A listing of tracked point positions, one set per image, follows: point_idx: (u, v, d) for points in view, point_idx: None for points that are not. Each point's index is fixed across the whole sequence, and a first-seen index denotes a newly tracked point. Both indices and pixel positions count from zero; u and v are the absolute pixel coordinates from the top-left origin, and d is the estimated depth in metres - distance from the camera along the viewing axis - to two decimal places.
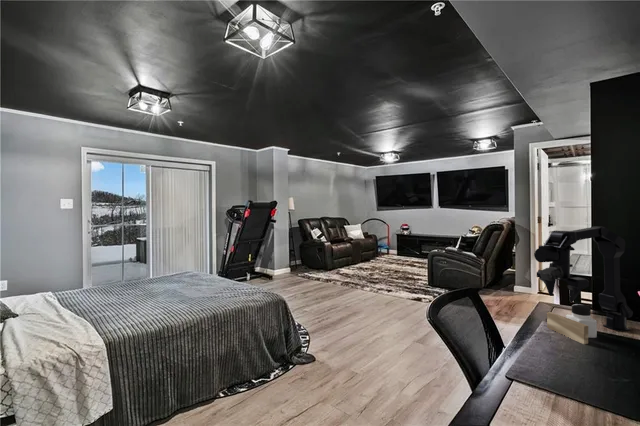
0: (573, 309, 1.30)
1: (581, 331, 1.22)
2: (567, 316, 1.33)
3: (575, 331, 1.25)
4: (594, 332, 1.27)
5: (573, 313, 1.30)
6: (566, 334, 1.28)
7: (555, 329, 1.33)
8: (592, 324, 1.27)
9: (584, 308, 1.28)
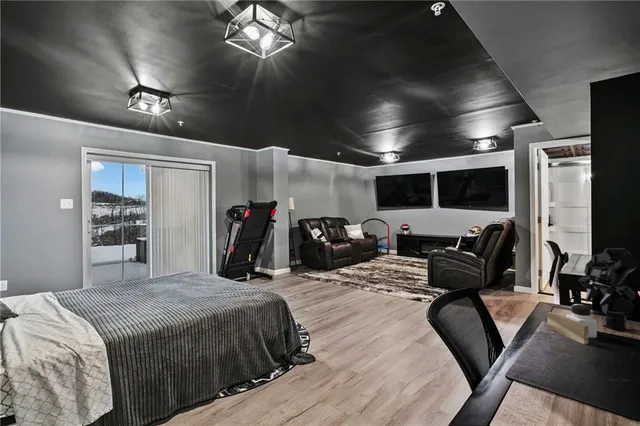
0: (573, 309, 1.30)
1: (581, 331, 1.22)
2: (567, 316, 1.33)
3: (575, 331, 1.25)
4: (594, 332, 1.27)
5: (573, 313, 1.30)
6: (566, 334, 1.28)
7: (555, 329, 1.33)
8: (592, 324, 1.27)
9: (584, 308, 1.28)
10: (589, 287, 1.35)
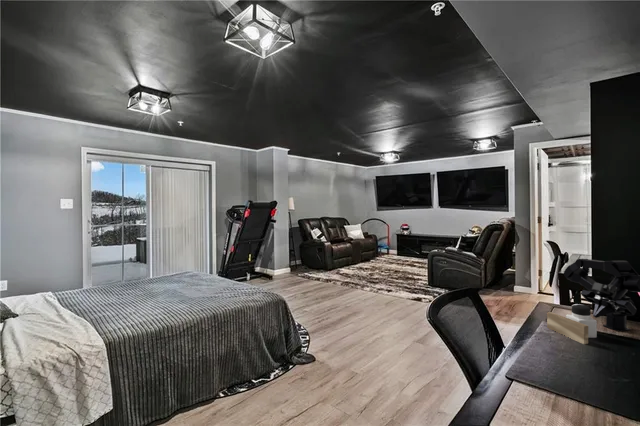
0: (573, 309, 1.30)
1: (581, 331, 1.22)
2: (567, 316, 1.33)
3: (575, 331, 1.25)
4: (594, 332, 1.27)
5: (573, 313, 1.30)
6: (566, 334, 1.28)
7: (555, 329, 1.33)
8: (592, 324, 1.27)
9: (584, 308, 1.28)
10: (597, 302, 1.33)
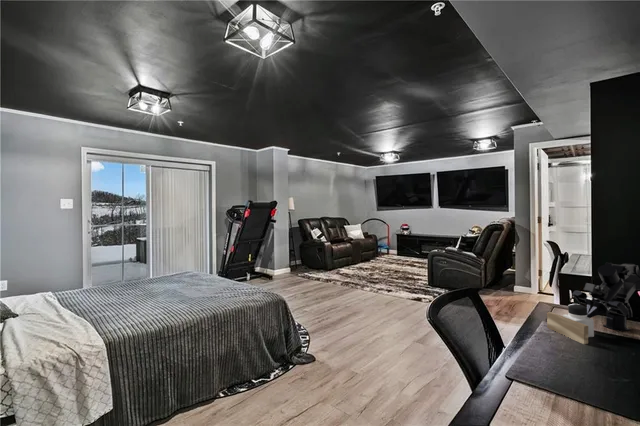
0: (570, 309, 1.30)
1: (581, 331, 1.22)
2: (564, 316, 1.33)
3: (575, 331, 1.25)
4: (591, 331, 1.27)
5: (570, 313, 1.30)
6: (566, 334, 1.28)
7: (555, 329, 1.33)
8: (589, 324, 1.27)
9: (580, 308, 1.28)
10: (589, 303, 1.32)
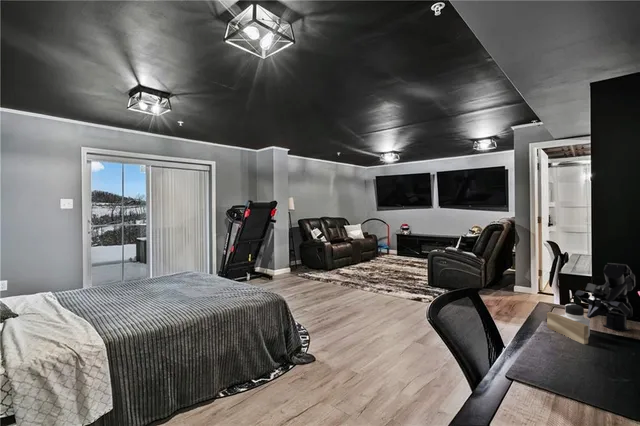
0: (567, 309, 1.30)
1: (581, 331, 1.22)
2: None
3: (575, 331, 1.25)
4: None
5: (567, 314, 1.30)
6: (566, 334, 1.28)
7: (555, 329, 1.33)
8: (586, 324, 1.27)
9: (578, 308, 1.28)
10: (591, 303, 1.33)
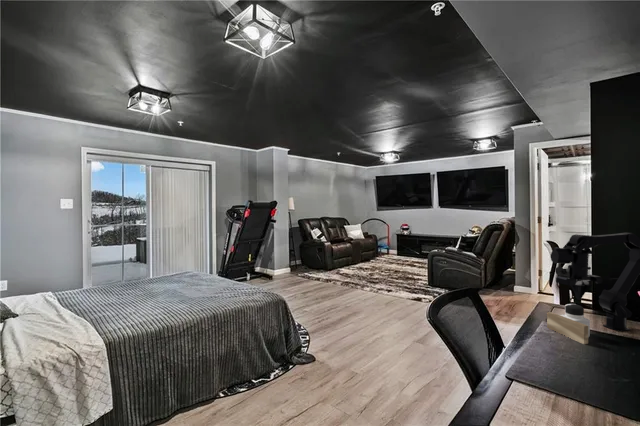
0: (567, 309, 1.30)
1: (581, 331, 1.22)
2: None
3: (575, 331, 1.25)
4: None
5: (567, 314, 1.30)
6: (566, 334, 1.28)
7: (555, 329, 1.33)
8: (586, 324, 1.28)
9: (578, 308, 1.28)
10: None
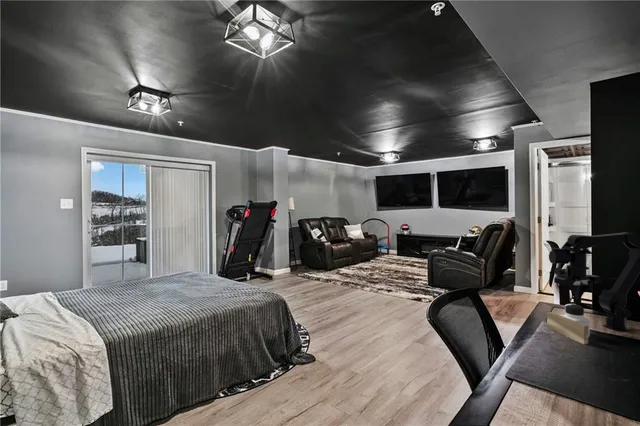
0: (567, 309, 1.30)
1: (581, 331, 1.22)
2: None
3: (575, 331, 1.25)
4: None
5: (567, 314, 1.30)
6: (566, 334, 1.28)
7: (555, 329, 1.33)
8: (586, 324, 1.28)
9: (578, 308, 1.28)
10: None
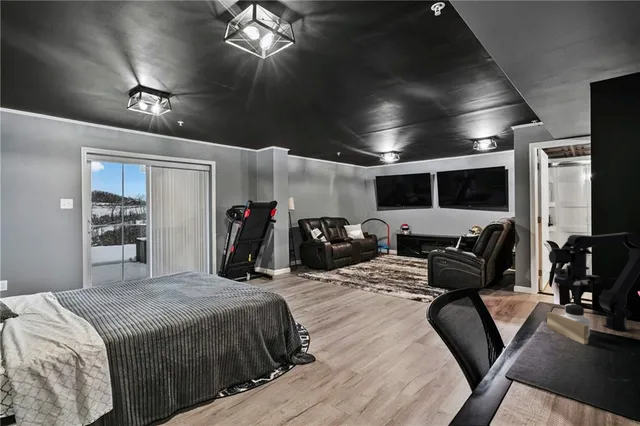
0: (567, 309, 1.30)
1: (581, 331, 1.22)
2: None
3: (575, 331, 1.25)
4: None
5: (567, 314, 1.30)
6: (566, 334, 1.28)
7: (555, 329, 1.33)
8: (586, 324, 1.28)
9: (578, 308, 1.28)
10: None
